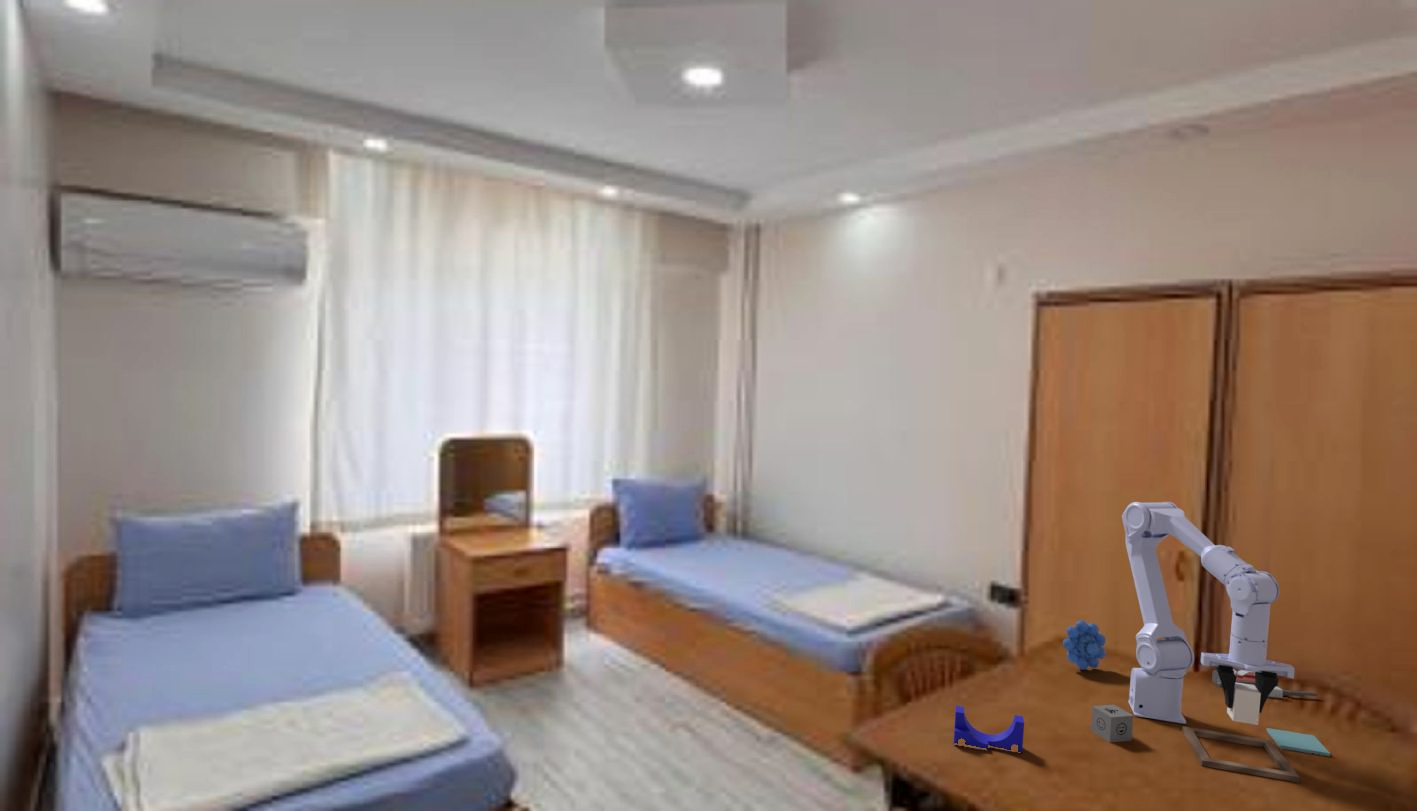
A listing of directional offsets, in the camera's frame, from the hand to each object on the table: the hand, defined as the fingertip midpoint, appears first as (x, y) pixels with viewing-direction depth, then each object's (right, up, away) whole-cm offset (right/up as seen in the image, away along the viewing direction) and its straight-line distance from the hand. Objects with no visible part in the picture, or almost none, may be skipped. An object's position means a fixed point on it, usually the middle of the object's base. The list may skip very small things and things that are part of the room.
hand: (1243, 708), depth 151 cm
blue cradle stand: (-48, -7, 0) cm, 49 cm away
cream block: (0, -2, 0) cm, 2 cm away
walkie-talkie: (+26, -9, +34) cm, 44 cm away
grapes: (-11, -7, +40) cm, 42 cm away
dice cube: (-22, -8, +6) cm, 24 cm away
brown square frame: (-1, -9, 0) cm, 9 cm away
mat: (+15, -9, +7) cm, 19 cm away
